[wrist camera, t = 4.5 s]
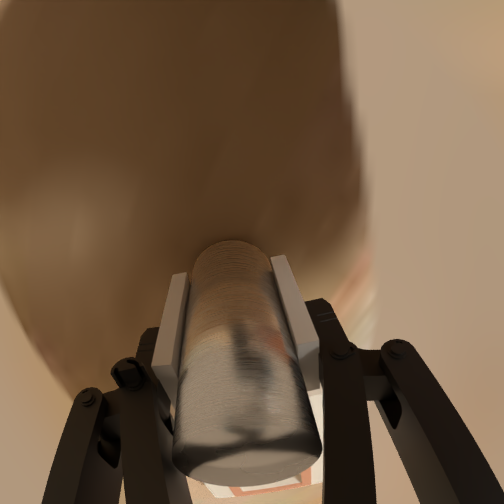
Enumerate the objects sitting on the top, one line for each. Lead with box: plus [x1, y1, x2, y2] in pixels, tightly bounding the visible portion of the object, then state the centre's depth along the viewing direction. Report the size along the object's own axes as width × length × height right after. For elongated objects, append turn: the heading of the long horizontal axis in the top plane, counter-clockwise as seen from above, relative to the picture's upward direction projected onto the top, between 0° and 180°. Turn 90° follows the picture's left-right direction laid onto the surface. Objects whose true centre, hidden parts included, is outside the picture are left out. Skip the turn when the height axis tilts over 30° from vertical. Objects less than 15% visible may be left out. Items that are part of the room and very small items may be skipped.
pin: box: [172, 240, 323, 487], centre depth 13 cm, size 4×4×11 cm
